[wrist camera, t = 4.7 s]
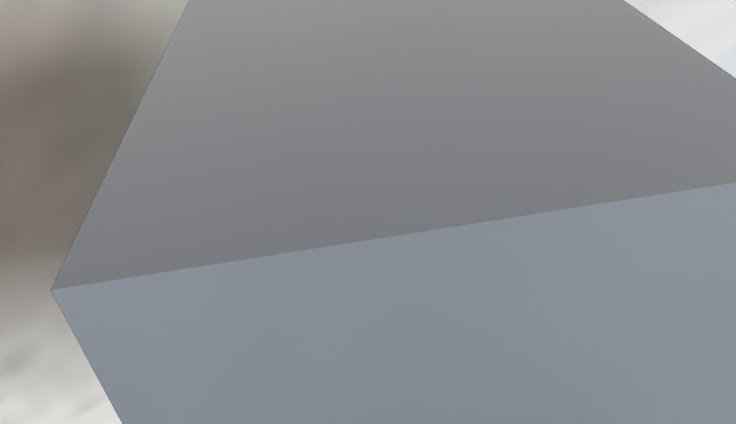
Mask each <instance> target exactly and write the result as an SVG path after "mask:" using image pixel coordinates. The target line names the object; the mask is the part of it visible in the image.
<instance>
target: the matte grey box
mask: <svg viewBox="0 0 736 424" xmlns="http://www.w3.org/2000/svg"><path fill="white" fill-rule="evenodd" d="M50 291H51V292H52V294H53V296H54V298H55V300H56V302H57V304H58V305H59V307H60V309H61V311H62V313H63V315H64V316H65V318H66V320H67V322H68V324H69V326H70V328H71V329H72V331H73V333H74V335H75V337H76V339H77V341H78V342H79V344H80V346H81V348H82V350H83V352H84V354H85V355H86V357H87V359H88V361H89V363H90V365H91V367H92V368H93V370H94V372H95V374H96V376H97V378H98V379H99V381H100V383H101V385H102V387H103V389H104V391H105V392H106V394H107V396H108V398H109V400H110V402H111V404H112V405H113V407H114V409H115V411H116V413H117V415H118V417H119V418H120V420H121V422H122V424H736V78H734V77H733V76H732V75H730V74H729V73H727V72H726V71H724V70H723V69H722V68H720V67H719V66H717V65H716V64H714V63H713V62H711V61H710V60H709V59H707V58H706V57H704V56H703V55H701V54H700V53H699V52H697V51H696V50H694V49H693V48H691V47H690V46H689V45H687V44H686V43H684V42H683V41H681V40H680V39H679V38H677V37H676V36H674V35H673V34H671V33H670V32H669V31H667V30H666V29H664V28H663V27H661V26H660V25H658V24H657V23H656V22H654V21H653V20H651V19H650V18H648V17H647V16H646V15H644V14H643V13H641V12H640V11H638V10H637V9H636V8H634V7H633V6H631V5H630V4H628V3H627V2H626V1H624V0H192V1H189V2H188V4H187V6H186V8H185V10H184V12H183V14H182V17H181V19H180V21H179V23H178V25H177V27H176V29H175V31H174V33H173V35H172V37H171V40H170V42H169V44H168V46H167V48H166V50H165V52H164V54H163V56H162V58H161V60H160V62H159V65H158V67H157V69H156V71H155V73H154V75H153V77H152V79H151V81H150V83H149V85H148V87H147V90H146V92H145V94H144V96H143V98H142V100H141V102H140V104H139V106H138V108H137V110H136V112H135V115H134V117H133V119H132V121H131V123H130V125H129V127H128V129H127V131H126V133H125V135H124V137H123V140H122V142H121V144H120V146H119V148H118V150H117V152H116V154H115V156H114V158H113V160H112V163H111V165H110V167H109V169H108V171H107V173H106V175H105V177H104V179H103V181H102V183H101V185H100V188H99V190H98V192H97V194H96V196H95V198H94V200H93V202H92V204H91V206H90V208H89V210H88V213H87V215H86V217H85V219H84V221H83V223H82V225H81V227H80V229H79V231H78V233H77V235H76V238H75V240H74V242H73V244H72V246H71V248H70V250H69V252H68V254H67V256H66V258H65V261H64V263H63V265H62V267H61V269H60V271H59V273H58V275H57V277H56V279H55V281H54V283H53V286H52V288H51V290H50Z"/></svg>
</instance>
